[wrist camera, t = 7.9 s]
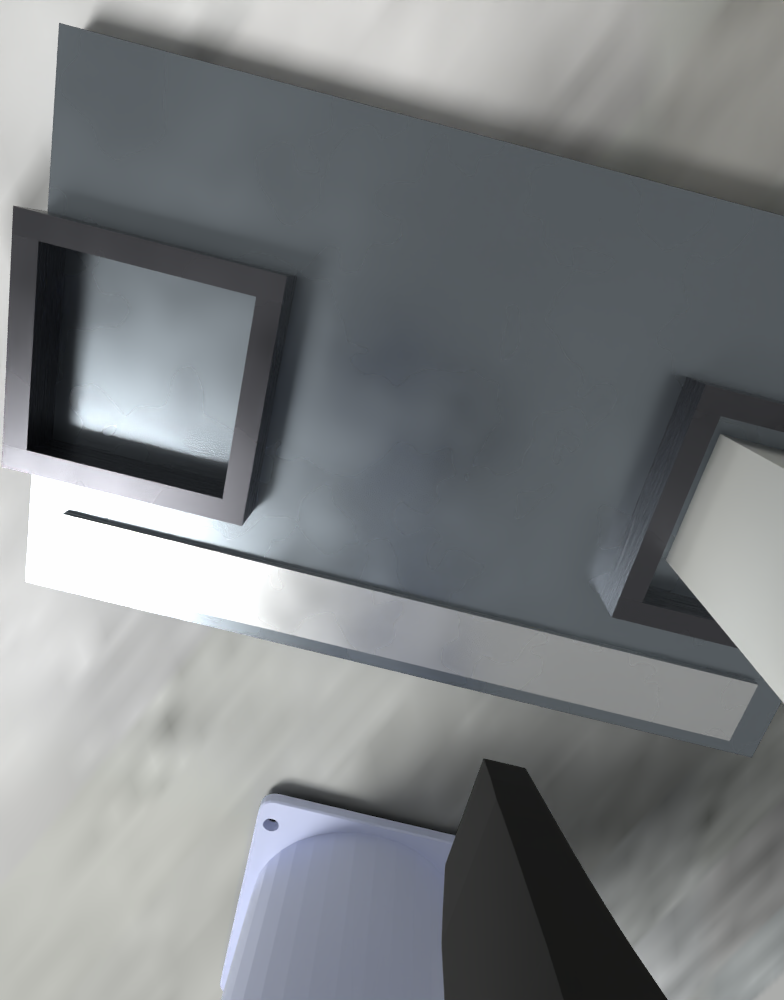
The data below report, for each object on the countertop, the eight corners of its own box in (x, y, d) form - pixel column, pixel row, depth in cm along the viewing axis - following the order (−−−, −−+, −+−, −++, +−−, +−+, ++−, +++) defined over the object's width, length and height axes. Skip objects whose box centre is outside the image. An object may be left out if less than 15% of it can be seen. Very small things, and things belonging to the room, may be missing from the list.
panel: (742, 740, 20) (775, 788, 18) (37, 568, 20) (-4, 600, 18) (984, 276, 16) (1061, 276, 14) (73, 33, 15) (22, 0, 13)
